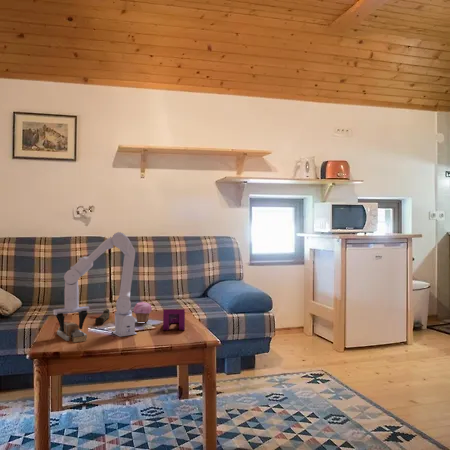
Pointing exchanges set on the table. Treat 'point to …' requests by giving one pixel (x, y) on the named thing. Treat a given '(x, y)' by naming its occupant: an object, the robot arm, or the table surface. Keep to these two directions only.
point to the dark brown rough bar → (102, 317)
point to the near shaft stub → (77, 336)
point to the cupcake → (142, 311)
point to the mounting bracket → (169, 318)
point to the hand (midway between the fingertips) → (71, 329)
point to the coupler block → (70, 328)
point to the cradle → (66, 335)
